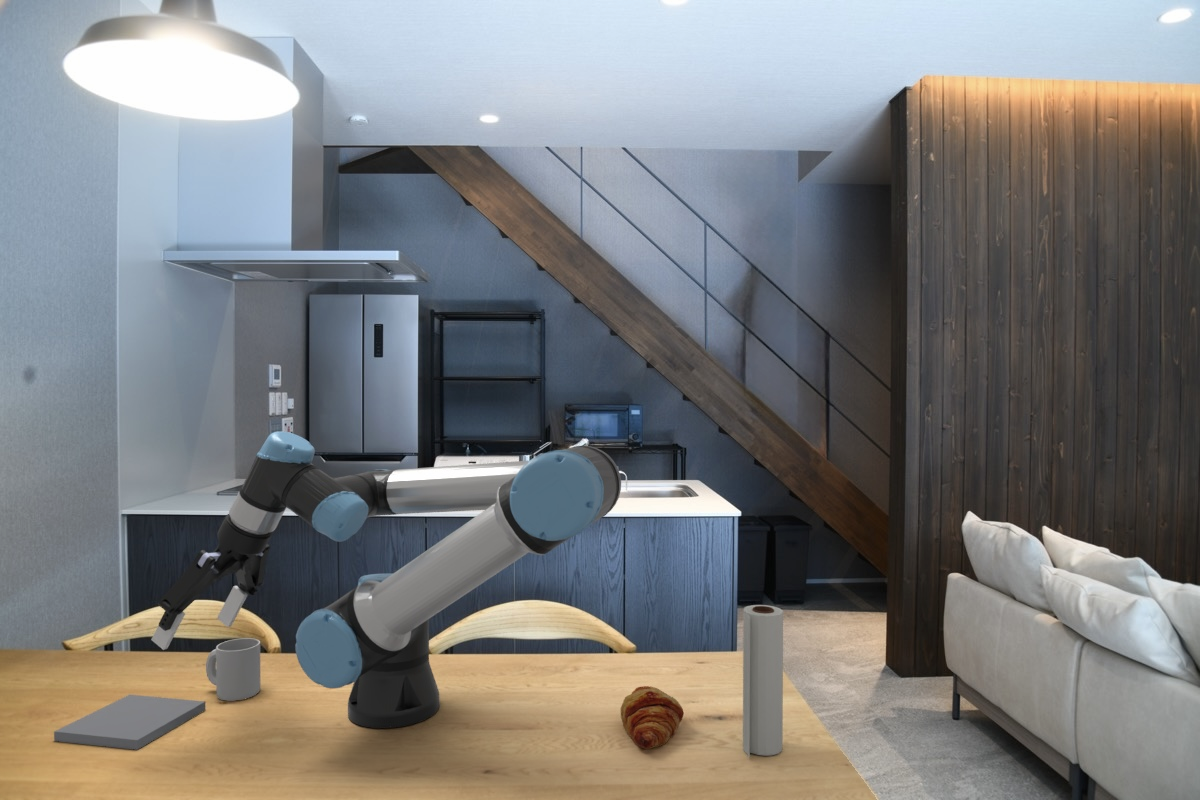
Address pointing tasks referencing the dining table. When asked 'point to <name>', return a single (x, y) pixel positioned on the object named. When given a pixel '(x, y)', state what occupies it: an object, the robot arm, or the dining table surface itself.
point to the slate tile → (130, 722)
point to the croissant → (650, 716)
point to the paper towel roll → (762, 680)
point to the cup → (235, 669)
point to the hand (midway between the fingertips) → (193, 632)
